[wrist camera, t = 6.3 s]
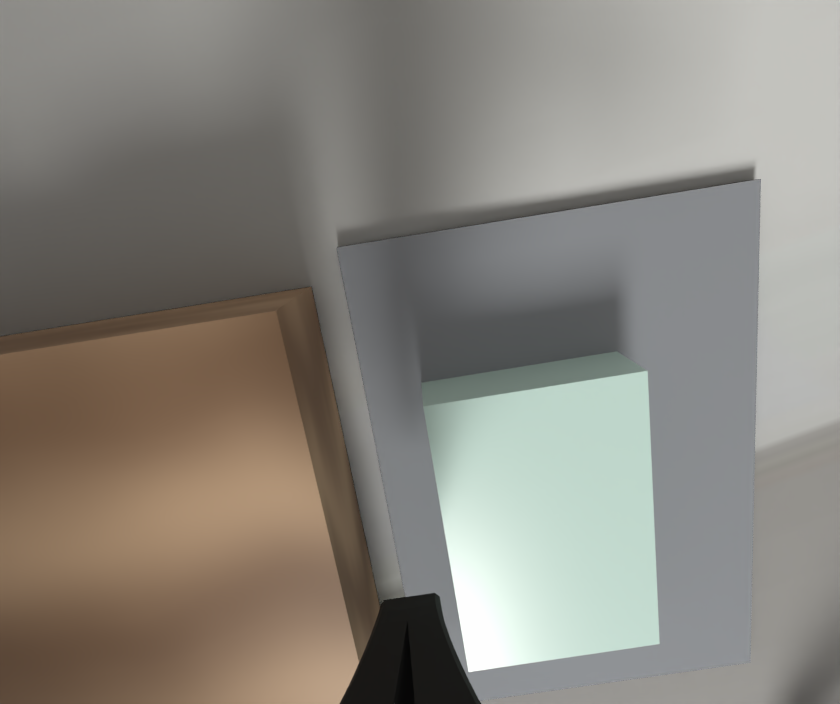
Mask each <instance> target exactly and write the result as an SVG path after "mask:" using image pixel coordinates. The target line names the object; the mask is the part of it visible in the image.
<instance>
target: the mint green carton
mask: <svg viewBox="0 0 840 704" xmlns="http://www.w3.org/2000/svg"><path fill="white" fill-rule="evenodd" d="M421 384H422V398H423V409H424V415H425V420H426V426H427V432H428V438H429V444H430V450H431V455H432V461H433V467H434V473H435V479H436V485H437V490H438V496H439V502H440V508H441V514H442V520H443V526H444V531H445V537H446V543H447V549H448V555H449V561H450V566H451V572H452V578H453V584H454V590H455V596H456V601H457V607H458V613H459V619H460V625H461V631H462V637H463V642H464V648H465V654H466V660H467V666H468V672H473V671H480V670H486V669H493V668H500V667H507V666H514V665H520V664H527V663H534V662H541V661H548V660H554V659H561V658H568V657H575V656H582V655H588V654H595V653H602V652H609V651H616V650H622V649H629V648H636V647H643V646H650V645H656V644H660V641H659V618H658V596H657V573H656V550H655V527H654V505H653V482H652V459H651V436H650V414H649V391H648V371H647V370H646V369H644V368H642V367H641V366H639V365H638V364H636V363H635V362H633V361H631V360H630V359H628V358H627V357H625V356H624V355H622V354H620V353H619V352H617V351H616V352H610V353H603V354H597V355H591V356H585V357H579V358H572V359H566V360H560V361H554V362H547V363H541V364H535V365H529V366H522V367H516V368H510V369H504V370H497V371H491V372H485V373H479V374H473V375H466V376H460V377H454V378H448V379H441V380H435V381H429V382H423V383H421Z"/></svg>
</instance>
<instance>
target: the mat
mask: <svg viewBox="0 0 840 704" xmlns="http://www.w3.org/2000/svg"><path fill="white" fill-rule="evenodd" d="M760 191H761V179H757V180H750V181H744V182H738V183H731V184H725V185H719V186H713V187H707V188H700V189H694V190H688V191H682V192H676V193H670V194H663V195H657V196H651V197H645V198H639V199H632V200H626V201H620V202H614V203H608V204H602V205H595V206H589V207H583V208H577V209H571V210H564V211H558V212H552V213H546V214H540V215H533V216H527V217H521V218H515V219H509V220H503V221H496V222H490V223H484V224H478V225H472V226H465V227H459V228H453V229H447V230H441V231H435V232H428V233H422V234H416V235H410V236H404V237H397V238H391V239H385V240H379V241H373V242H367V243H360V244H354V245H348V246H342V247H337V252H338V257H339V263H340V268H341V273H342V278H343V283H344V288H345V293H346V298H347V303H348V308H349V313H350V318H351V324H352V329H353V334H354V339H355V344H356V349H357V354H358V359H359V364H360V369H361V374H362V379H363V385H364V390H365V395H366V400H367V405H368V410H369V415H370V420H371V425H372V430H373V435H374V440H375V445H376V451H377V456H378V461H379V466H380V471H381V476H382V481H383V486H384V491H385V496H386V501H387V506H388V512H389V517H390V522H391V527H392V532H393V537H394V542H395V547H396V552H397V557H398V562H399V567H400V573H401V578H402V583H403V588H404V593H405V597H409V596H416V595H423V594H430V593H436V594H437V595H439V596H440V600H441V606H442V612H443V617H444V621H445V624H446V627H447V630H448V633H449V636H450V639H451V641H452V644H453V646H454V649H455V651H456V653H457V655H458V658H459V660H460V662H461V665H462V667H463V669H464V671H465V673H466V675H467V677H468V679H469V682H470V684H471V685H472V687H473V689H474V691H475V693H476V695H477V697H478V699H479V701H483V700H490V699H497V698H504V697H511V696H518V695H525V694H532V693H539V692H546V691H553V690H561V689H568V688H575V687H582V686H589V685H596V684H603V683H610V682H617V681H624V680H631V679H638V678H645V677H652V676H659V675H666V674H673V673H681V672H688V671H695V670H702V669H709V668H716V667H723V666H730V665H737V664H744V663H750V655H751V609H752V563H753V516H754V470H755V423H756V377H757V330H758V284H759V238H760ZM616 351H617V352H619V353H620V354H622V355H624V356H625V357H627V358H628V359H630V360H631V361H633V362H635V363H636V364H638V365H639V366H641V367H642V368H644V369H646V370H647V371H648V391H649V414H650V436H651V459H652V482H653V505H654V527H655V550H656V573H657V596H658V618H659V641H660V644H656V645H650V646H643V647H636V648H629V649H622V650H616V651H609V652H602V653H595V654H588V655H582V656H575V657H568V658H561V659H554V660H548V661H541V662H534V663H527V664H520V665H514V666H507V667H500V668H493V669H486V670H480V671H473V672H468V666H467V660H466V654H465V648H464V642H463V637H462V631H461V625H460V619H459V613H458V607H457V601H456V596H455V590H454V584H453V578H452V572H451V566H450V561H449V555H448V549H447V543H446V537H445V531H444V526H443V520H442V514H441V508H440V502H439V496H438V490H437V485H436V479H435V473H434V467H433V461H432V455H431V450H430V444H429V438H428V432H427V426H426V420H425V415H424V409H423V398H422V384H421V383H423V382H429V381H435V380H441V379H448V378H454V377H460V376H466V375H473V374H479V373H485V372H491V371H497V370H504V369H510V368H516V367H522V366H529V365H535V364H541V363H547V362H554V361H560V360H566V359H572V358H579V357H585V356H591V355H597V354H603V353H610V352H616Z"/></svg>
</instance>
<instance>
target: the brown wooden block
mask: <svg viewBox="0 0 840 704" xmlns="http://www.w3.org/2000/svg"><path fill="white" fill-rule="evenodd" d="M379 610H380V605H379V600H378V596H377V591H376V586H375V582H374V577H373V572H372V568H371V563H370V558H369V554H368V549H367V544H366V540H365V535H364V530H363V526H362V521H361V516H360V511H359V507H358V502H357V497H356V493H355V488H354V483H353V479H352V474H351V469H350V465H349V460H348V455H347V451H346V446H345V441H344V437H343V432H342V427H341V423H340V418H339V413H338V409H337V404H336V399H335V395H334V390H333V385H332V381H331V376H330V371H329V367H328V362H327V357H326V353H325V348H324V343H323V339H322V334H321V329H320V325H319V320H318V315H317V311H316V306H315V301H314V297H313V292H312V287H306V288H300V289H294V290H288V291H281V292H275V293H269V294H263V295H256V296H250V297H244V298H238V299H231V300H225V301H219V302H213V303H207V304H200V305H194V306H188V307H182V308H175V309H169V310H163V311H157V312H150V313H144V314H138V315H132V316H125V317H119V318H113V319H107V320H100V321H94V322H88V323H82V324H75V325H69V326H63V327H57V328H51V329H44V330H38V331H32V332H26V333H19V334H13V335H7V336H1V337H0V704H340V702H341V700H342V698H343V696H344V694H345V692H346V690H347V688H348V686H349V684H350V682H351V680H352V678H353V675H354V673H355V671H356V669H357V666H358V664H359V662H360V659H361V657H362V655H363V653H364V650H365V648H366V645H367V643H368V640H369V638H370V635H371V633H372V630H373V627H374V625H375V622H376V619H377V616H378V613H379Z"/></svg>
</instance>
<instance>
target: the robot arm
mask: <svg viewBox="0 0 840 704" xmlns="http://www.w3.org/2000/svg"><path fill="white" fill-rule="evenodd" d="M340 704H481V703H480V701H479V699H478V697H477V695H476V693H475V691H474V689H473V687H472V685H471V684H470V682H469V679H468V677H467V675H466V673H465V671H464V669H463V667H462V665H461V662H460V660H459V658H458V655H457V653H456V651H455V649H454V646H453V644H452V641H451V639H450V636H449V633H448V630H447V627H446V624H445V621H444V617H443V612H442V606H441V600H440V596H439V595H437V594H436V593H430V594H423V595H416V596H409V597H403V598H396V599H389V600H384V602H383V603H382V604H381V606H380V610H379V613H378V616H377V619H376V622H375V625H374V627H373V630H372V633H371V635H370V638H369V640H368V643H367V645H366V648H365V650H364V653H363V655H362V657H361V659H360V662H359V664H358V666H357V669H356V671H355V673H354V675H353V678H352V680H351V682H350V684H349V686H348V688H347V690H346V692H345V694H344V696H343V698H342V700H341V702H340Z"/></svg>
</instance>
